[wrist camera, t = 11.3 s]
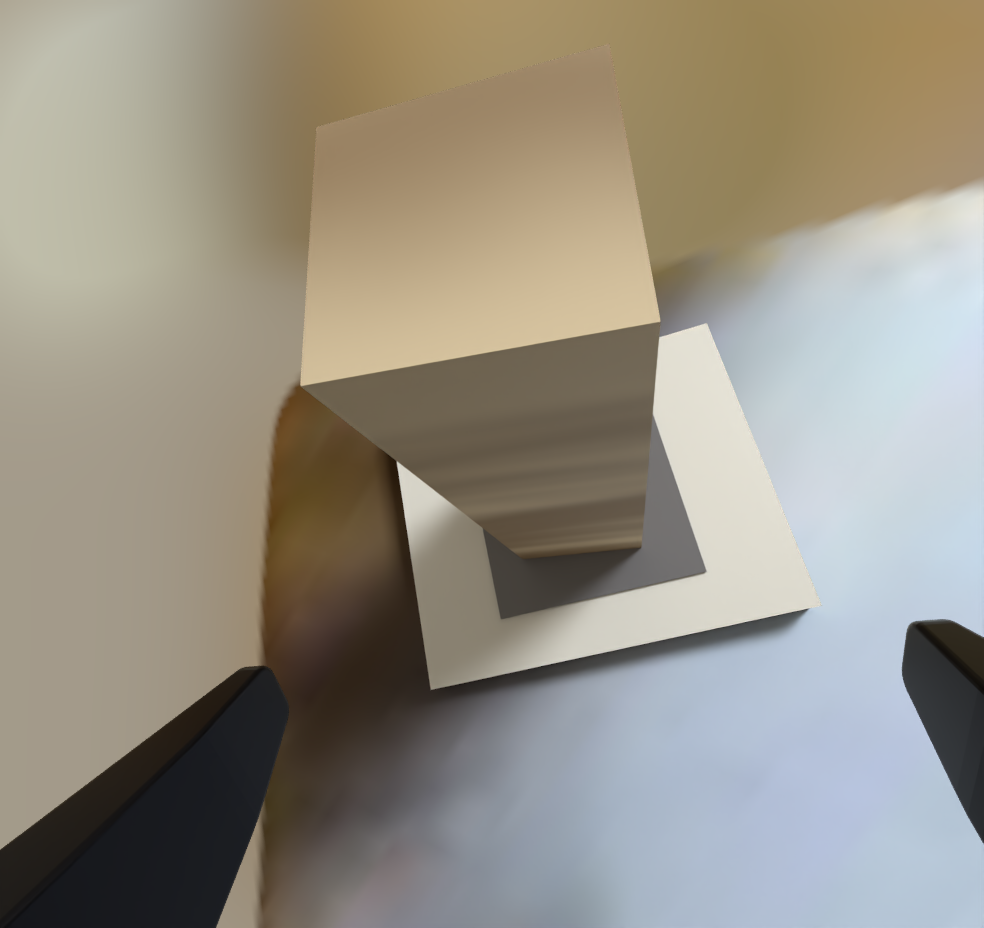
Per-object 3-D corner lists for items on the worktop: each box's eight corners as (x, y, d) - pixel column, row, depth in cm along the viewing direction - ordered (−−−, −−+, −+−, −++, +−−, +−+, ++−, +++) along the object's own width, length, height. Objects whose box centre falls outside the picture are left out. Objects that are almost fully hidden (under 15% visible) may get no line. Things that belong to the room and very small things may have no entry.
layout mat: (702, 339, 19) (707, 321, 18) (810, 608, 15) (822, 605, 14) (401, 429, 20) (389, 417, 19) (441, 687, 17) (429, 689, 16)
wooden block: (641, 547, 16) (660, 320, 5) (522, 559, 17) (300, 386, 6) (624, 435, 17) (609, 43, 6) (514, 451, 18) (316, 127, 7)
